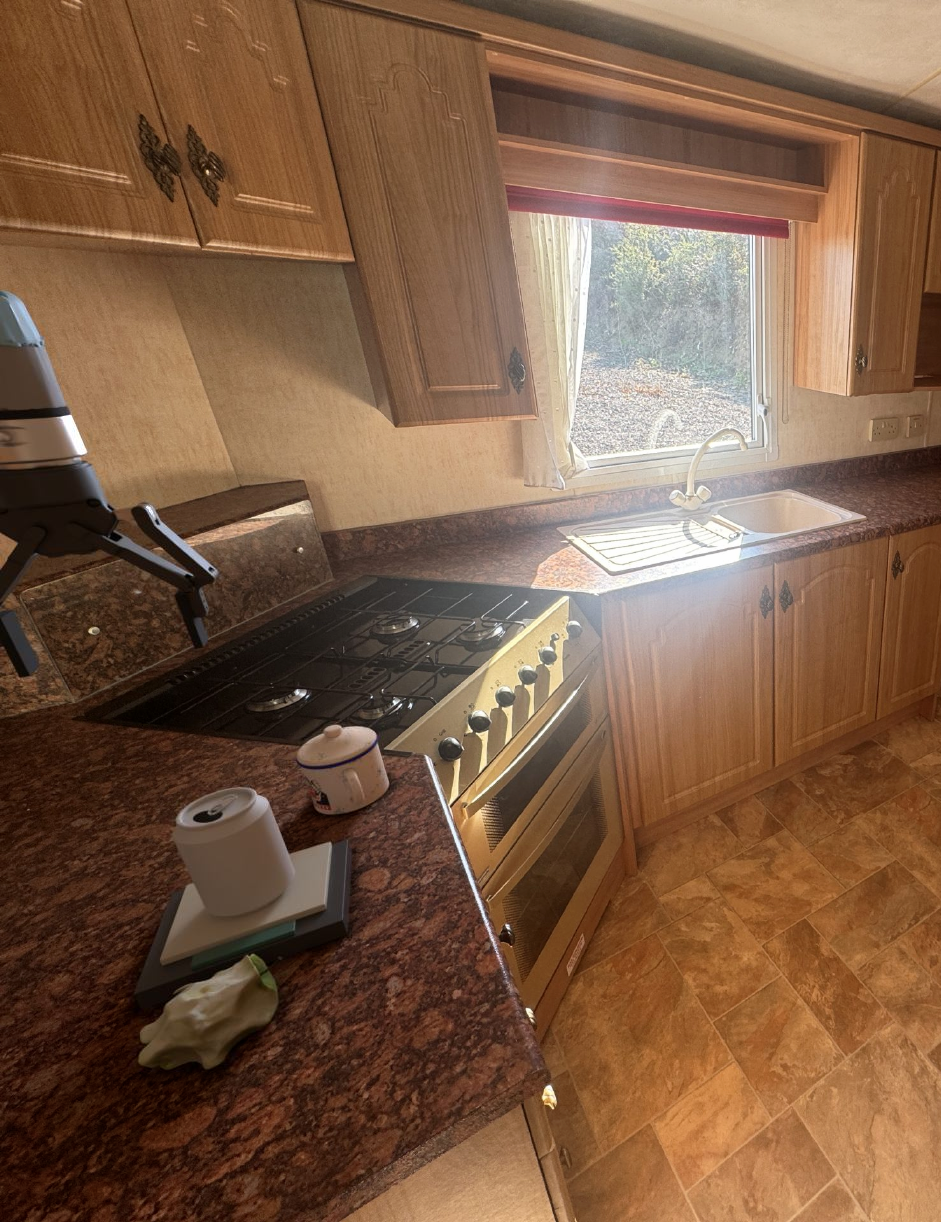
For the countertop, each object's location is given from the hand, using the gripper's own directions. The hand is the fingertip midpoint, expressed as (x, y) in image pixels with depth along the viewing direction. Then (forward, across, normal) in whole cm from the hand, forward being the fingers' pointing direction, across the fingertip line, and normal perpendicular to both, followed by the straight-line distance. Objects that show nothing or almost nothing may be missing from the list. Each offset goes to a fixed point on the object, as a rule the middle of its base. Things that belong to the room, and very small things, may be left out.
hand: (120, 657), depth 70 cm
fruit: (+27, +7, -32) cm, 42 cm away
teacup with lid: (+27, +16, 0) cm, 31 cm away
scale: (+27, +8, -19) cm, 34 cm away
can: (+23, +8, -18) cm, 30 cm away
